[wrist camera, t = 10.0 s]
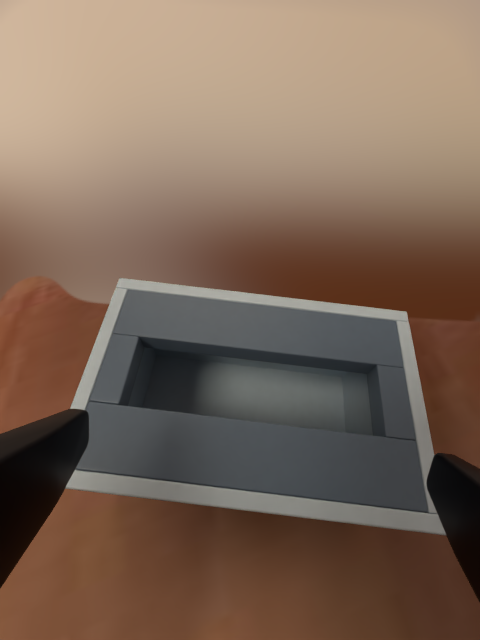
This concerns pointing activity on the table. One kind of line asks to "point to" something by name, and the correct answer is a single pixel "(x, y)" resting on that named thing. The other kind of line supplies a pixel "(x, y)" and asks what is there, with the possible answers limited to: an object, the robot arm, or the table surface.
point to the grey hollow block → (257, 407)
